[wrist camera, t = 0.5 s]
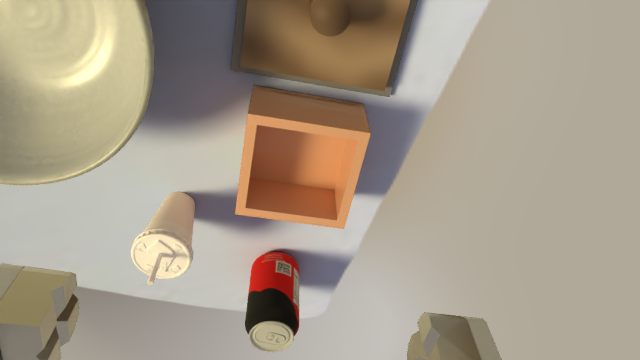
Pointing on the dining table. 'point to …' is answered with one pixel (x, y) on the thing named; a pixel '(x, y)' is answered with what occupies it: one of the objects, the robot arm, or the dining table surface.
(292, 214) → the terracotta open box
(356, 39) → the walnut lid
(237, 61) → the rubber mat
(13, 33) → the decorative bowl
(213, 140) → the dining table surface
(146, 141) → the dining table surface
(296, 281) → the beverage can
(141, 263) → the smoothie
